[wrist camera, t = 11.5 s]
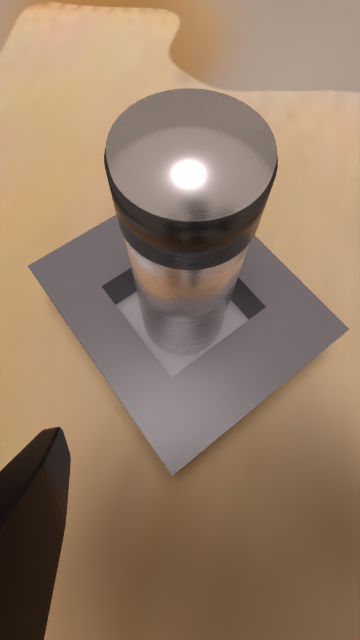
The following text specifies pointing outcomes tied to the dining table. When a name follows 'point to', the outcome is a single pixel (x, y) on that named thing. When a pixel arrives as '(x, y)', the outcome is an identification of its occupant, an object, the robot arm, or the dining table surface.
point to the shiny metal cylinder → (188, 206)
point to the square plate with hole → (196, 369)
